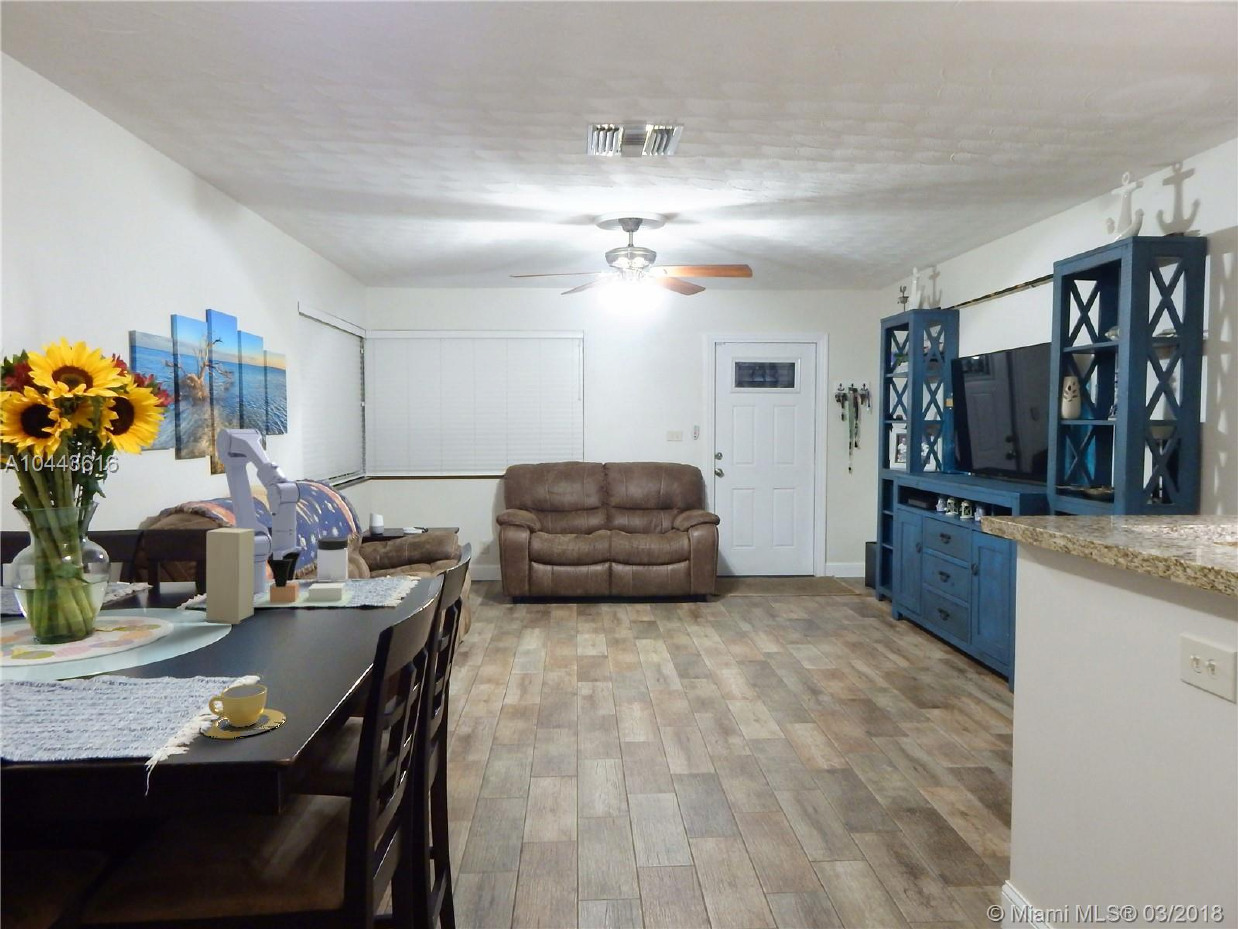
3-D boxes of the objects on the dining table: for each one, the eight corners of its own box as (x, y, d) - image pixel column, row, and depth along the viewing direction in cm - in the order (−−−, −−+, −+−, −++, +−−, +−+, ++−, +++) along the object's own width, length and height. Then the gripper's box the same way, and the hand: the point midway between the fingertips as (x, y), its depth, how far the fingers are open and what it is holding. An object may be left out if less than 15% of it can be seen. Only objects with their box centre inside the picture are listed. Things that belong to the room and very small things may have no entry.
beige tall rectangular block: (256, 616, 188) (256, 528, 187) (239, 624, 181) (238, 532, 180) (224, 615, 189) (224, 527, 188) (205, 623, 182) (204, 531, 181)
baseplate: (251, 610, 194) (251, 607, 194) (268, 595, 210) (268, 592, 210) (346, 608, 198) (346, 604, 198) (355, 594, 214) (355, 591, 214)
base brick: (308, 600, 202) (308, 588, 202) (313, 595, 208) (313, 583, 208) (341, 599, 204) (341, 588, 203) (345, 594, 210) (345, 583, 209)
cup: (294, 710, 130) (293, 677, 130) (273, 739, 119) (273, 703, 118) (215, 712, 129) (215, 679, 128) (187, 742, 117) (186, 706, 116)
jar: (346, 583, 227) (346, 541, 227) (315, 583, 226) (315, 541, 225) (349, 576, 236) (349, 536, 235) (320, 577, 234) (320, 536, 234)
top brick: (269, 602, 200) (269, 586, 199) (273, 598, 204) (273, 582, 203) (295, 601, 201) (295, 585, 200) (298, 597, 205) (298, 582, 204)
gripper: (294, 534, 195) (295, 589, 195) (306, 526, 209) (307, 577, 210) (263, 534, 193) (264, 589, 194) (278, 526, 208) (278, 578, 208)
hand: (284, 583), depth 202 cm, fingers open, 7 cm apart
